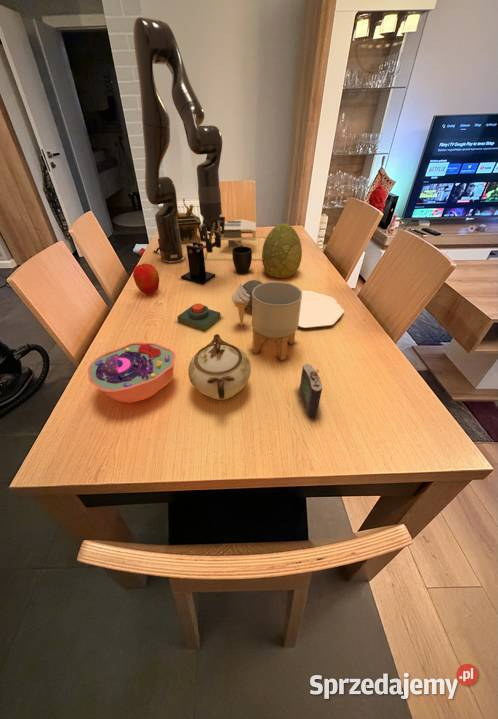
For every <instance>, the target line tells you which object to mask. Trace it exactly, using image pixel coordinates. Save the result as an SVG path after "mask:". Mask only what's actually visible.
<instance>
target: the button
mask: <svg viewBox="0 0 498 719" xmlns="http://www.w3.org/2000/svg"><path fill="white" fill-rule="evenodd" d="M203 305H204V304H203V303H194V304H193V305H191V306H192V308H193V312H194V313H202V312H203V311H204V306H205V305H204V306H203Z"/></svg>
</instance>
